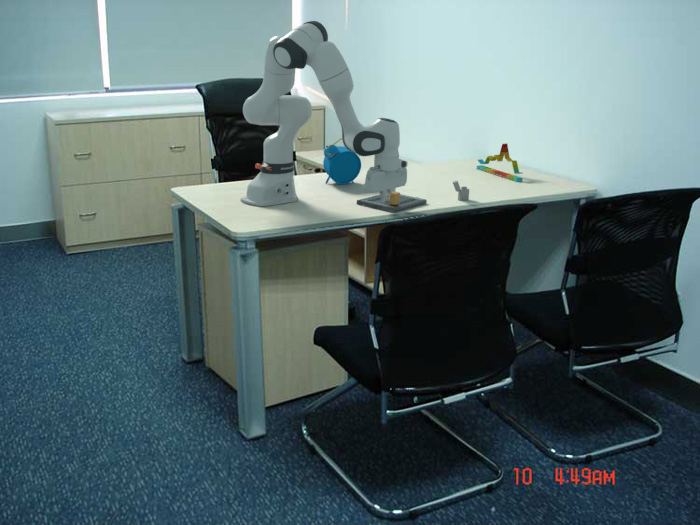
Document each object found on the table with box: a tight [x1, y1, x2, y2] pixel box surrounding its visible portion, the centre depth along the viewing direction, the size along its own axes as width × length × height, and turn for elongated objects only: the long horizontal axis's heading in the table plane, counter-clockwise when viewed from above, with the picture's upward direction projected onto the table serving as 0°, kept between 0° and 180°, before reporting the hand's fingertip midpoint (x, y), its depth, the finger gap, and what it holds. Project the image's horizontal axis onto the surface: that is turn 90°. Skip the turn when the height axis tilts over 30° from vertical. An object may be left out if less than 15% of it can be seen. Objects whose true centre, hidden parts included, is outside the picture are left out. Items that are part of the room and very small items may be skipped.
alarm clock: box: [322, 137, 362, 185], centre depth 316 cm, size 17×10×20 cm, turn 116°
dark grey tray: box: [356, 193, 427, 214], centre depth 287 cm, size 20×18×2 cm
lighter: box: [452, 180, 470, 202], centre depth 294 cm, size 7×2×8 cm, turn 117°
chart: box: [475, 143, 523, 183], centre depth 340 cm, size 30×3×15 cm, turn 26°
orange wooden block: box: [388, 191, 401, 205], centre depth 279 cm, size 3×3×4 cm
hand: (385, 201), depth 275 cm, fingers closed
